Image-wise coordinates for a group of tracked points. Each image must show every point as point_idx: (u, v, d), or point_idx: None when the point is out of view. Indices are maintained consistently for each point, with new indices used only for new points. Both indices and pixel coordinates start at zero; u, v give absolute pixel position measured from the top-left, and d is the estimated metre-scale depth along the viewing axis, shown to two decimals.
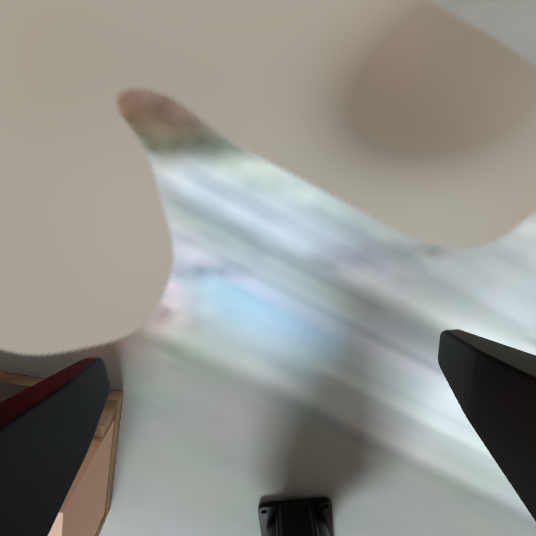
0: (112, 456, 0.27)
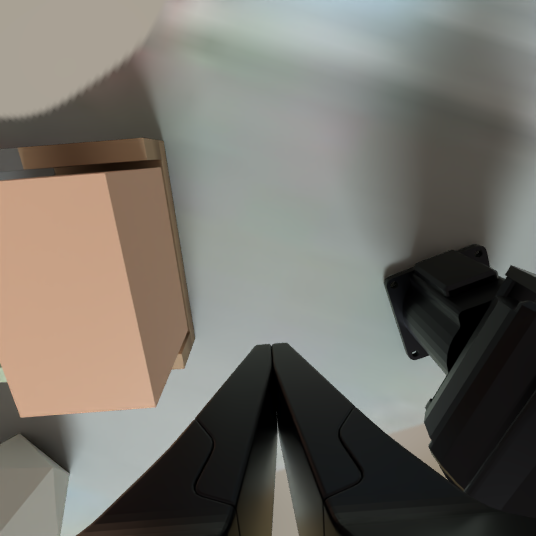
0: (175, 241, 0.20)
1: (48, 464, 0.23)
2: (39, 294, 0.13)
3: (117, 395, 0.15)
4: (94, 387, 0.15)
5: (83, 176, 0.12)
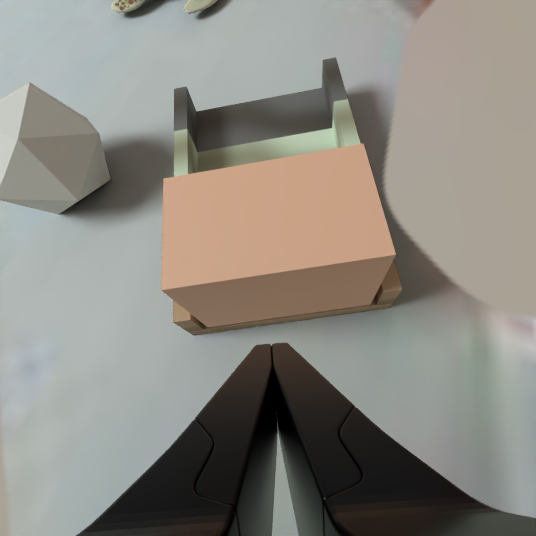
0: (299, 316, 0.21)
1: (81, 197, 0.25)
2: (281, 200, 0.16)
3: (178, 255, 0.15)
4: (188, 236, 0.15)
5: (389, 238, 0.14)
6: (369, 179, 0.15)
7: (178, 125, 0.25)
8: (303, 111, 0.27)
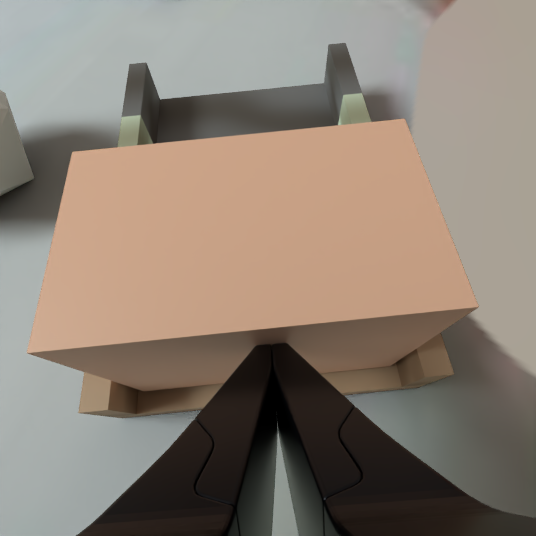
0: None
1: None
2: (269, 199, 0.09)
3: (73, 285, 0.08)
4: (98, 251, 0.09)
5: (463, 276, 0.08)
6: (418, 173, 0.09)
7: (129, 110, 0.18)
8: (299, 109, 0.21)
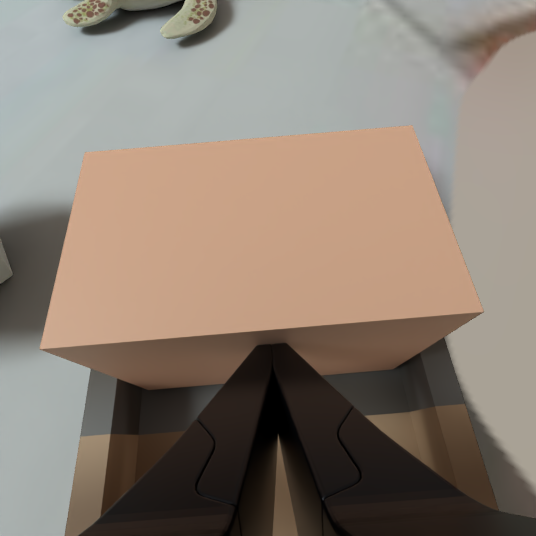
0: None
1: None
2: (278, 202, 0.09)
3: (85, 284, 0.08)
4: (110, 251, 0.09)
5: (468, 281, 0.08)
6: (425, 179, 0.09)
7: None
8: None
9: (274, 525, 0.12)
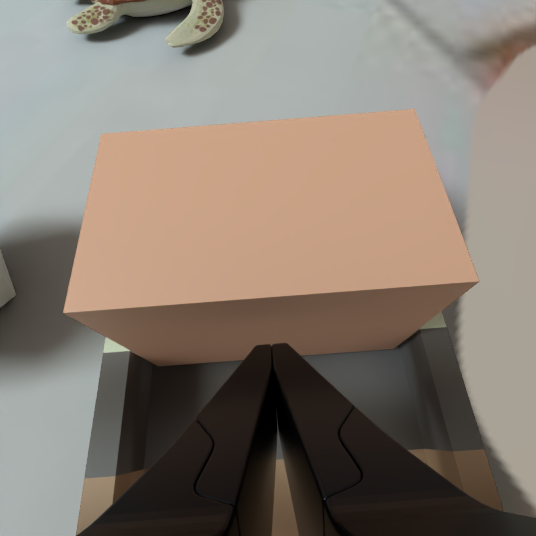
0: None
1: None
2: (285, 180, 0.10)
3: (104, 254, 0.09)
4: (127, 224, 0.09)
5: (465, 253, 0.08)
6: (426, 159, 0.10)
7: None
8: None
9: None
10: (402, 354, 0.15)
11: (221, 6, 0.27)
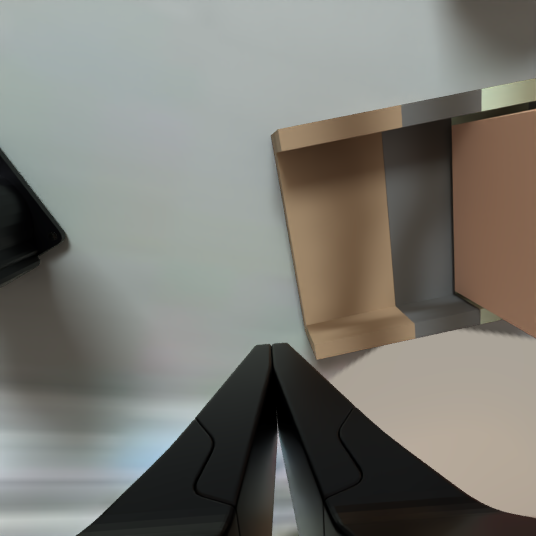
0: (293, 256, 0.21)
1: None
2: None
3: None
4: None
5: None
6: None
7: None
8: None
9: (335, 232, 0.20)
10: (448, 296, 0.22)
11: None
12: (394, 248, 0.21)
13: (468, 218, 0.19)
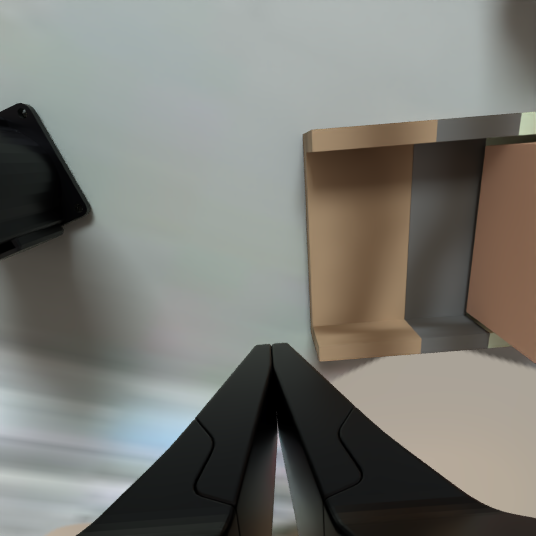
0: (309, 257, 0.21)
1: None
2: None
3: None
4: None
5: None
6: None
7: None
8: None
9: (354, 238, 0.20)
10: (459, 315, 0.22)
11: None
12: (410, 261, 0.21)
13: (490, 241, 0.19)
